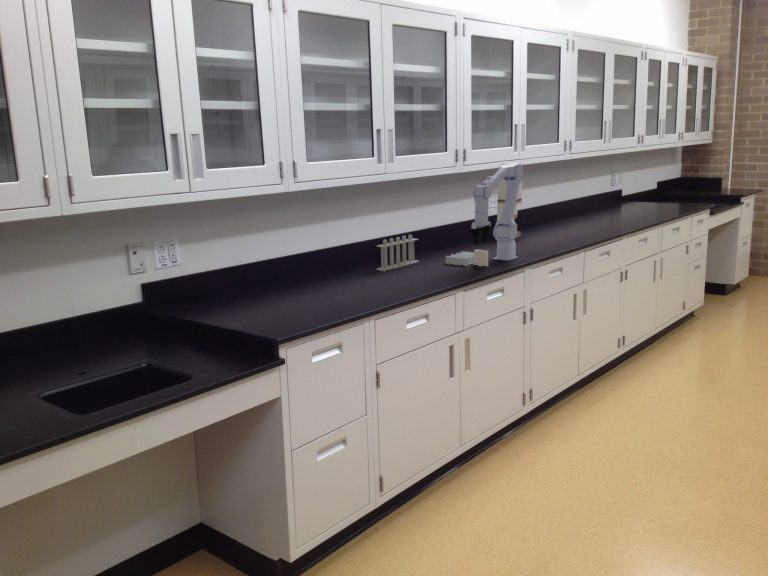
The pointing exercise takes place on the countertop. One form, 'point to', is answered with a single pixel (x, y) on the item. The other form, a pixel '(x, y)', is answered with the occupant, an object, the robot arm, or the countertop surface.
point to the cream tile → (481, 257)
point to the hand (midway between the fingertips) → (480, 243)
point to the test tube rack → (397, 252)
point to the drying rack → (461, 259)
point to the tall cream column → (501, 200)
